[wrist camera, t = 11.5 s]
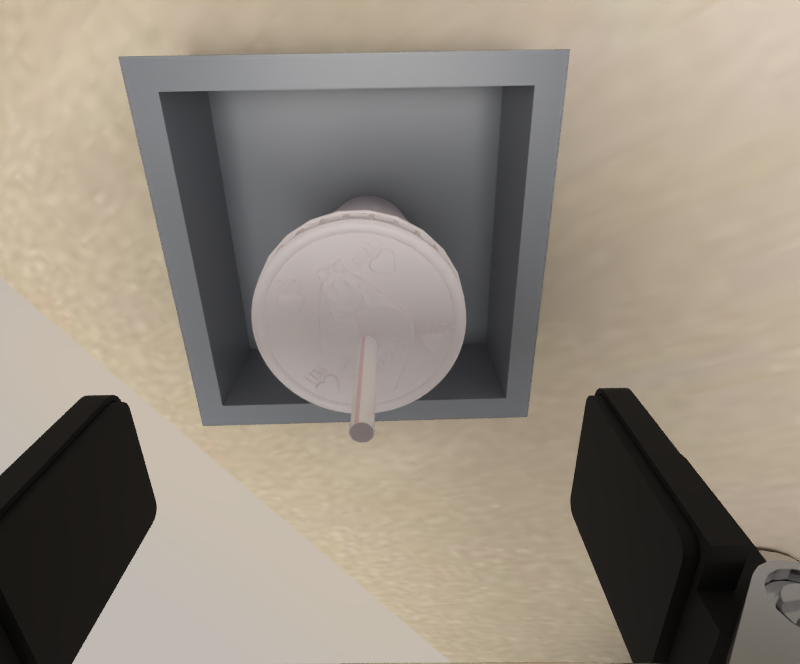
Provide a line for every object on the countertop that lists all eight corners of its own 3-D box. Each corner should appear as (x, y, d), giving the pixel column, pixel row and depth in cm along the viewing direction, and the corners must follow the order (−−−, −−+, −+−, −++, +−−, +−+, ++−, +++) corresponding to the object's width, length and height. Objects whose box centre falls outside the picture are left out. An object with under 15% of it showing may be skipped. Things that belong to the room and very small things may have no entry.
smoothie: (338, 319, 25) (293, 553, 13) (272, 201, 23) (135, 349, 10) (458, 268, 24) (536, 468, 12) (404, 137, 22) (429, 217, 9)
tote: (499, 350, 28) (527, 416, 22) (238, 357, 27) (203, 425, 22) (523, 55, 21) (569, 49, 16) (185, 61, 21) (118, 56, 16)
